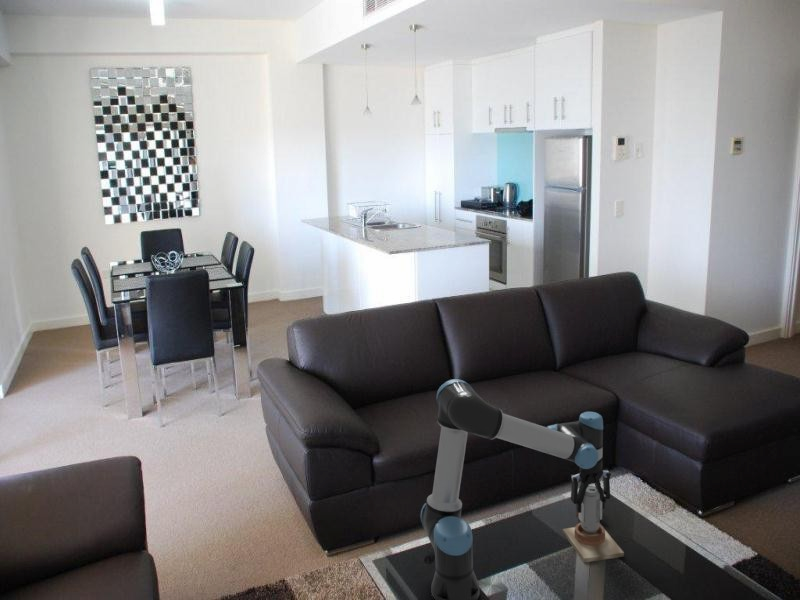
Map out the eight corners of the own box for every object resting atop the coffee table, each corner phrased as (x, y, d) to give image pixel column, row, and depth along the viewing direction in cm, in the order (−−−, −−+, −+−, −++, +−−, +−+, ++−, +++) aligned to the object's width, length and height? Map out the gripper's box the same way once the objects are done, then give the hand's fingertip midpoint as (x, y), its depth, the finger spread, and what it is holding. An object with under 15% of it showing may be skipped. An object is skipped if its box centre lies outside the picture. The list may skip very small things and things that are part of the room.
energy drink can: (582, 522, 242) (582, 484, 238) (600, 525, 239) (600, 486, 236) (580, 531, 236) (580, 492, 233) (598, 534, 234) (598, 495, 230)
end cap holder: (584, 562, 227) (584, 550, 226) (562, 532, 245) (562, 521, 244) (623, 556, 229) (624, 544, 228) (599, 527, 247) (600, 516, 246)
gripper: (568, 465, 226) (568, 528, 232) (622, 458, 229) (621, 520, 235) (559, 455, 234) (560, 516, 239) (612, 448, 236) (611, 509, 242)
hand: (590, 518), depth 237 cm, fingers closed on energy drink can, 6 cm apart
